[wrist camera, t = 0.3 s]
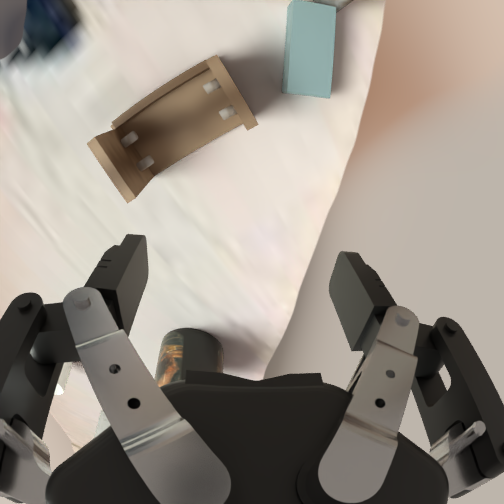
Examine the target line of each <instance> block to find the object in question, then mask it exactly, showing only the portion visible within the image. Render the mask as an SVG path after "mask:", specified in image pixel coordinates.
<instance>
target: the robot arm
mask: <svg viewBox="0 0 504 504" xmlns="http://www.w3.org/2000/svg"><path fill="white" fill-rule="evenodd" d="M147 280H148V257H147V242H146V237H145V235H133V234H127V235H126V237H125V238H124V240H123V241H122V243H121V245H120V246H118V245H114V246H113V247H111V248H110V249H108V250H107V251H106V252H105V253H104V255H103V256H102V258H101V261H99V263H98V264H97V267H95V269H94V271H93V272H92V274H91V276H90V277H89V279H88V281H87V282H86V284H85V286H84V287H81V288H77V289H75V290H73V291H71V292H69V293H68V294H67V295H66V296H65V298H64V300H63V302H61V303H53V304H43V301H42V298H41V297H40V296H39V295H38V294H36V293H24V294H21V295H19V296H18V297H16V298H15V299H14V300H13V301H12V302H11V304H10V305H9V307H8V308H7V310H6V312H5V313H4V315H3V317H2V318H1V320H0V496H1V497H5V498H7V499H9V500H11V501H13V502H16V503H26V504H447V501H448V497H450V498H458V497H461V496H463V495H465V494H467V493H468V492H470V491H472V490H474V489H476V488H478V487H479V486H481V485H483V484H485V483H486V482H488V481H490V480H492V479H493V478H495V477H496V476H498V475H499V474H501V473H503V472H504V405H503V403H502V401H501V399H500V396H499V394H498V392H497V390H496V389H495V386H494V384H493V382H492V380H491V379H490V377H489V375H488V373H487V371H486V369H485V367H484V365H483V364H482V362H481V360H480V358H479V357H478V355H477V353H476V351H475V350H474V348H473V346H472V345H471V343H470V341H469V339H468V338H467V336H466V335H465V333H464V331H463V330H462V328H461V327H460V326H459V324H458V323H457V322H455V321H454V320H452V319H450V318H447V317H440V318H438V319H437V321H436V322H435V324H434V326H430V325H425V324H421V323H419V320H418V318H417V316H416V315H415V314H414V313H413V312H412V311H410V310H409V309H407V308H405V307H402V306H397V304H396V303H395V301H394V299H393V298H392V296H391V295H390V293H389V291H388V290H387V288H386V287H385V285H384V283H383V282H382V281H381V279H380V277H379V276H378V274H377V273H376V271H375V270H373V269H372V268H371V267H370V266H369V265H366V264H365V263H364V261H363V260H362V258H361V256H360V255H359V254H358V253H355V252H344V251H341V252H340V253H339V255H338V257H337V261H336V264H335V267H334V270H333V273H332V276H331V279H330V283H329V293H330V297H331V299H332V301H333V304H334V306H335V309H336V312H337V314H338V317H339V319H340V322H341V324H342V327H343V329H344V332H345V335H346V337H347V340H348V343H349V345H350V348H351V351H363V353H364V354H363V356H362V358H361V360H360V362H359V364H358V366H357V368H356V370H355V372H354V374H353V376H352V378H351V380H350V382H349V384H348V387H347V389H346V390H343V389H341V388H339V387H337V386H334V385H331V384H327V383H323V381H322V377H321V373H306V374H287V375H283V376H278V377H274V378H269V379H265V380H260V381H253V380H248V379H244V378H240V377H236V376H232V375H228V374H224V373H220V372H205V371H192V370H186V378H185V380H179V381H175V382H171V383H168V384H165V385H163V386H161V387H159V386H158V384H157V383H156V381H155V380H154V378H153V377H152V375H151V374H150V372H149V371H148V369H147V368H146V366H145V364H144V363H143V361H142V360H141V358H140V356H139V355H138V353H137V352H136V350H135V348H134V347H133V345H132V343H131V342H130V340H129V338H128V336H129V333H130V330H131V327H132V324H133V321H134V318H135V315H136V312H137V309H138V306H139V303H140V300H141V298H142V295H143V292H144V289H145V286H146V284H147ZM76 361H81V362H82V364H83V367H84V369H85V372H86V374H87V376H88V379H89V381H90V383H91V386H92V388H93V390H94V392H95V394H96V397H97V399H98V401H99V403H100V405H101V407H102V409H103V411H104V413H105V415H106V417H107V419H108V421H109V423H110V426H109V427H108V428H107V429H105V430H104V431H103V432H102V433H100V434H99V435H98V436H96V437H95V438H94V439H93V440H91V441H90V442H89V443H88V444H86V445H85V446H84V447H82V448H81V449H80V450H79V451H77V452H76V453H75V454H73V455H72V456H71V457H70V458H68V459H67V460H66V461H64V462H63V463H62V464H60V465H59V466H58V467H57V468H56V469H55V470H54V471H53V472H51V469H50V454H49V450H48V448H47V446H46V444H45V443H44V442H43V441H42V437H43V433H44V429H45V425H46V421H47V417H48V413H49V410H50V406H51V403H52V399H53V396H54V392H55V389H56V386H57V383H58V380H59V377H60V374H61V371H62V368H63V365H64V363H65V362H76ZM444 364H445V366H446V368H447V370H448V372H449V375H450V377H451V386H450V388H449V389H448V391H447V390H446V388H445V385H444V383H443V381H442V379H441V377H440V374H439V370H440V369H441V368H442V367H443V365H444ZM410 390H412V392H413V395H414V398H415V400H416V403H417V406H418V409H419V412H420V414H421V418H422V421H423V423H424V426H425V430H426V432H427V436H428V439H429V442H430V445H431V449H430V455H429V454H427V453H426V452H425V451H424V450H422V449H421V448H420V447H418V446H417V445H415V444H414V443H413V442H412V441H410V440H409V439H408V438H406V437H405V436H404V435H402V434H401V433H400V432H398V430H399V427H400V424H401V421H402V417H403V414H404V411H405V408H406V404H407V400H408V397H409V394H410Z"/></svg>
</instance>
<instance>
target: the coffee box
mask: <svg viewBox="0 0 504 504" xmlns="http://www.w3.org/2000/svg"><path fill="white" fill-rule="evenodd" d="M313 1H315V2H317V3H319V4H324V5H329V6H333V7H336V12H338V11H339V10H340V9H342V8H343V7H345V6H346V5H347V4H349V3H350V2H352V1H353V0H313Z"/></svg>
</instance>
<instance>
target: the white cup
mask: <svg viewBox="0 0 504 504" xmlns="http://www.w3.org/2000/svg"><path fill="white" fill-rule="evenodd" d="M72 364H73V362H65V363H64V365H63V368H62V371H61V374H60V377H59V380H58V383H57V386H56V389H55V392H54V394H56V395H62V394H63V393H64V390H65V387H66V383H67V380H68V377H69V374H70V371H71V367H72Z"/></svg>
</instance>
